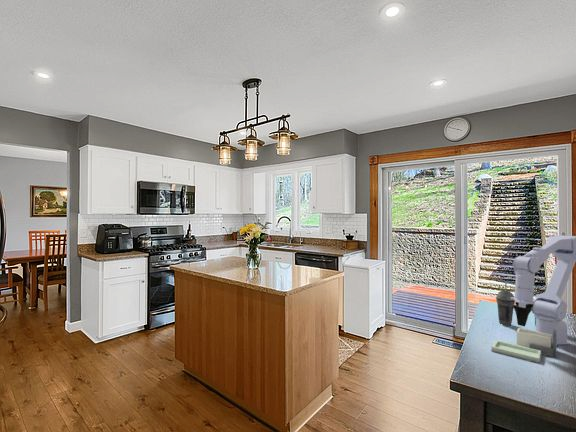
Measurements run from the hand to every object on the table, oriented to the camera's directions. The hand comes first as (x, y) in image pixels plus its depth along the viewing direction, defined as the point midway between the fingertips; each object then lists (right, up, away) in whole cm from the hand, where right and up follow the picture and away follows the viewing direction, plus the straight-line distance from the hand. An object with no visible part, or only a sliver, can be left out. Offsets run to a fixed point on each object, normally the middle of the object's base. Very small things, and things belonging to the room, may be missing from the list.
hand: (522, 323), depth 118 cm
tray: (-7, -9, -6) cm, 13 cm away
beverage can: (+23, -9, +18) cm, 30 cm away
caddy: (+3, -9, -2) cm, 9 cm away
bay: (+5, -9, -4) cm, 11 cm away
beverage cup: (+10, -9, +24) cm, 27 cm away
